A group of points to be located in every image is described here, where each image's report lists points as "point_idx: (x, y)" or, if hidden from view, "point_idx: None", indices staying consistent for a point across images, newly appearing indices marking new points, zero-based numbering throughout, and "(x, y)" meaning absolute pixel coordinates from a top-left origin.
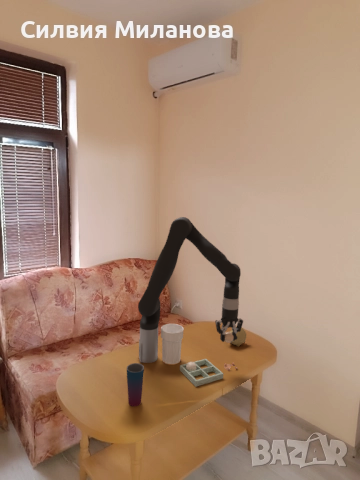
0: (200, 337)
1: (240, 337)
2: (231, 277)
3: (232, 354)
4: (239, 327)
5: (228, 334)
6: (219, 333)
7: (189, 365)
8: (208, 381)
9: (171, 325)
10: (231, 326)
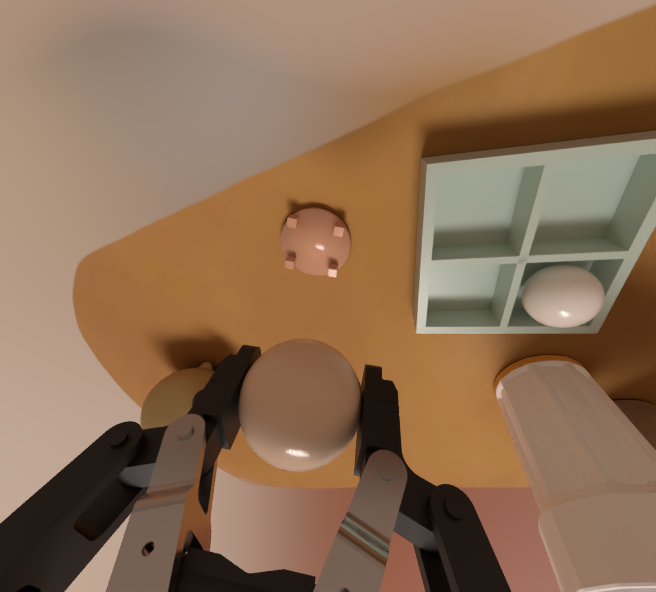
0: None
1: (178, 393)
2: None
3: (253, 331)
4: (70, 503)
5: (307, 431)
6: (461, 494)
7: (603, 299)
8: (552, 145)
9: None
10: (209, 589)
